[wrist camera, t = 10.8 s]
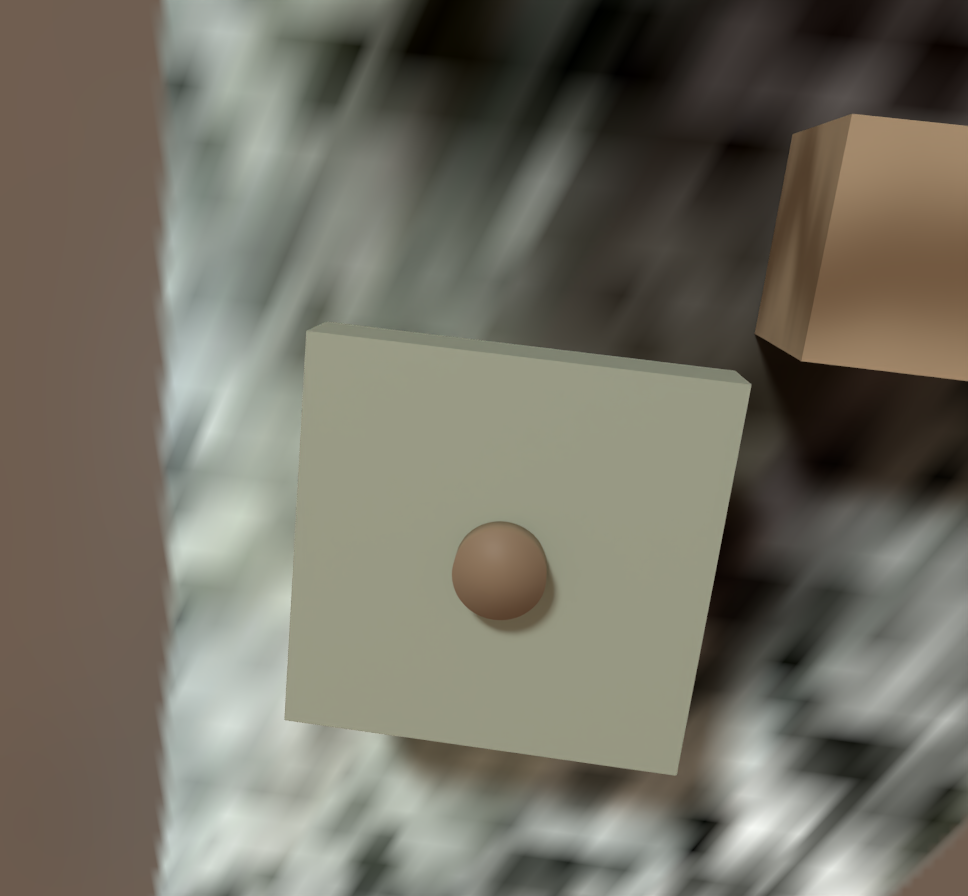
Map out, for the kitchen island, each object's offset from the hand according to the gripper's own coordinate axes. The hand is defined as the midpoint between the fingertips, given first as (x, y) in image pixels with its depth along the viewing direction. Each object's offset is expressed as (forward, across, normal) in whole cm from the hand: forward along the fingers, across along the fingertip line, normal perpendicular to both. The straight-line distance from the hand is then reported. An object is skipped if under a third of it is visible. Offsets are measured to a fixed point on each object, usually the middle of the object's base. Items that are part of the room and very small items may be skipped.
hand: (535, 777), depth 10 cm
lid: (+15, -1, -3) cm, 15 cm away
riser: (+20, +9, +6) cm, 23 cm away
